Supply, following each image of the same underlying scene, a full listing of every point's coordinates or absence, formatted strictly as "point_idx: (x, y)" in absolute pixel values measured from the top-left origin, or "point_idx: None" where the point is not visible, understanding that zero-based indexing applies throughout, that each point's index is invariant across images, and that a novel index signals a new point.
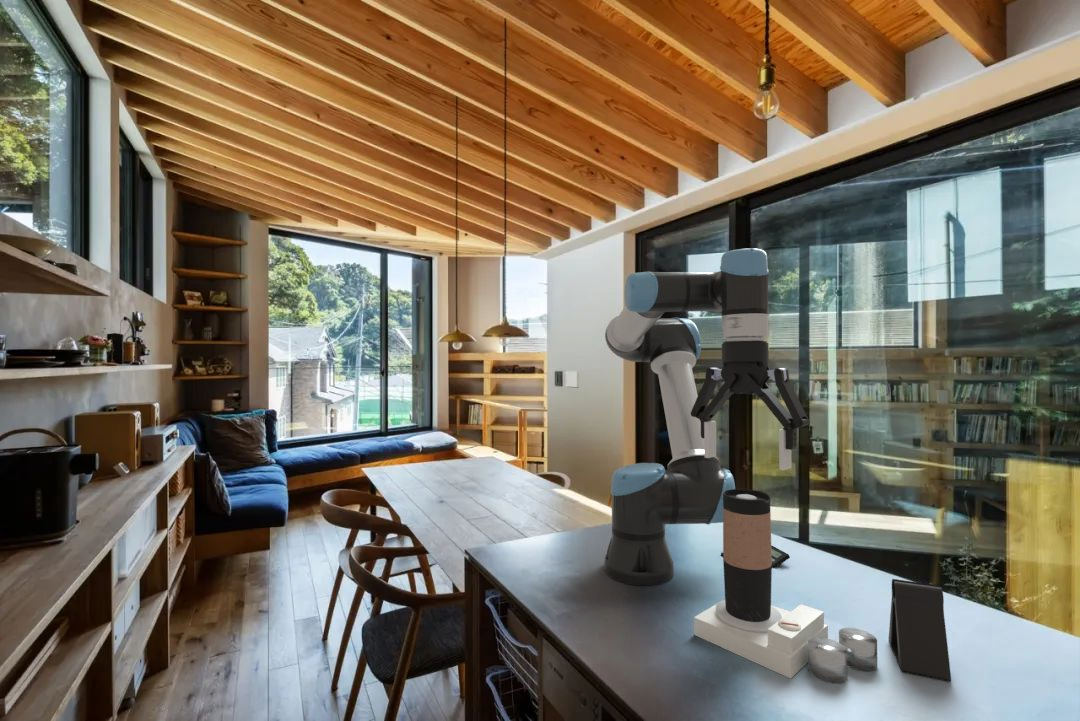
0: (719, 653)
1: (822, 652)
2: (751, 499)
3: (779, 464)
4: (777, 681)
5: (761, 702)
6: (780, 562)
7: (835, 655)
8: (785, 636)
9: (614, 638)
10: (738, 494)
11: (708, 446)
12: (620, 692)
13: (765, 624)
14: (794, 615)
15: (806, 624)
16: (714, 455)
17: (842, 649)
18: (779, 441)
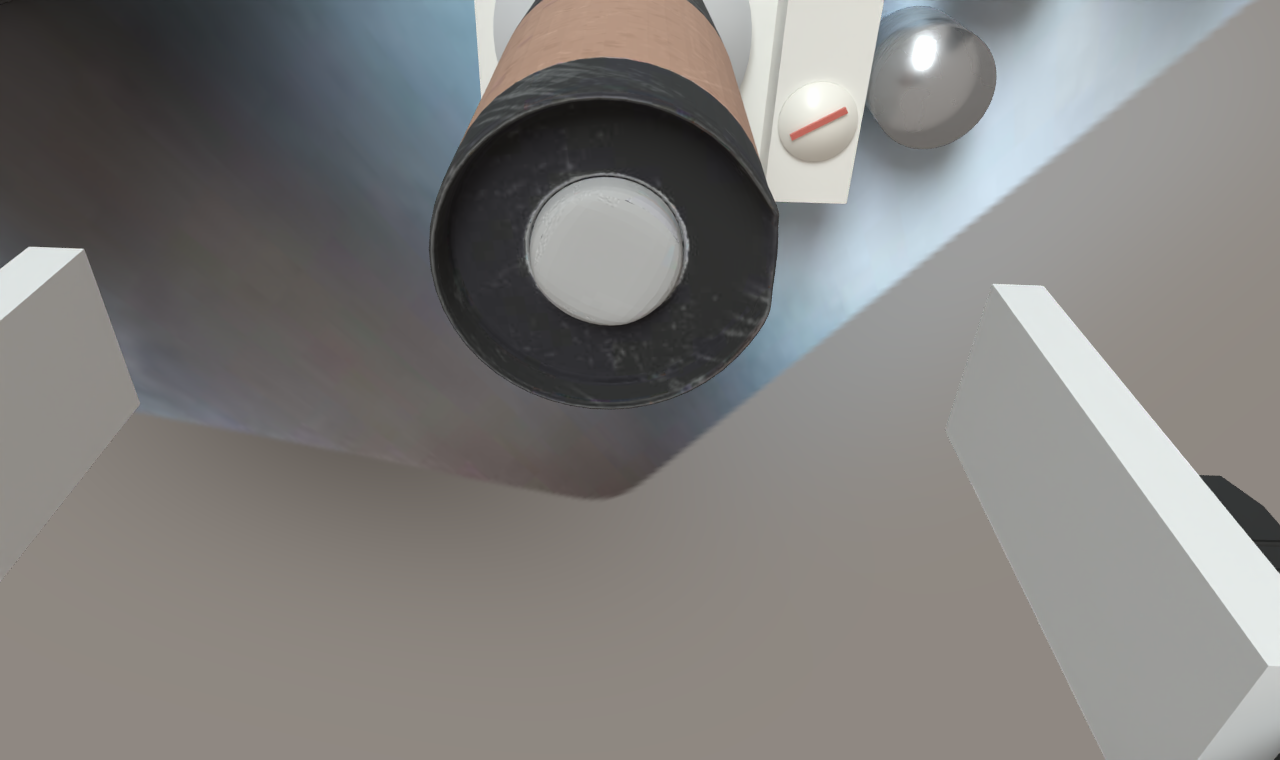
0: None
1: (926, 142)
2: (666, 296)
3: (963, 462)
4: (798, 216)
5: (794, 322)
6: None
7: (965, 130)
8: (824, 201)
9: (358, 351)
10: (484, 156)
11: (67, 492)
12: (542, 490)
13: None
14: (810, 23)
15: (866, 65)
16: (90, 296)
17: (982, 72)
18: (1068, 671)
